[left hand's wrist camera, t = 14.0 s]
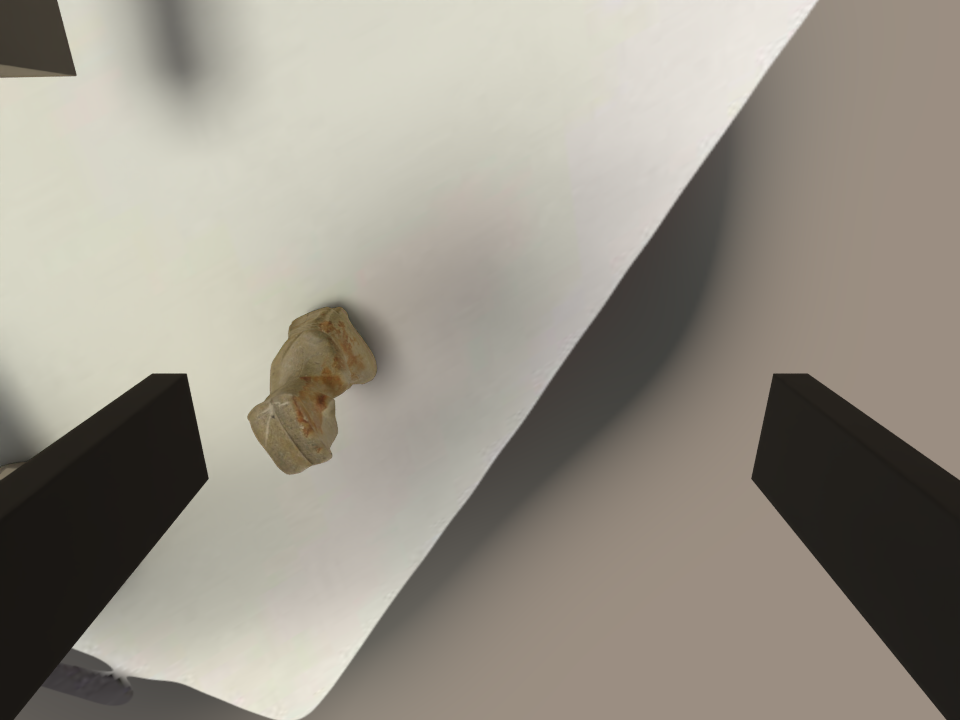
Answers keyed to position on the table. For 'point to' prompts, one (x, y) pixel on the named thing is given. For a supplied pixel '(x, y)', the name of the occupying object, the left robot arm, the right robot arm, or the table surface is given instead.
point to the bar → (33, 40)
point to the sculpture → (310, 388)
